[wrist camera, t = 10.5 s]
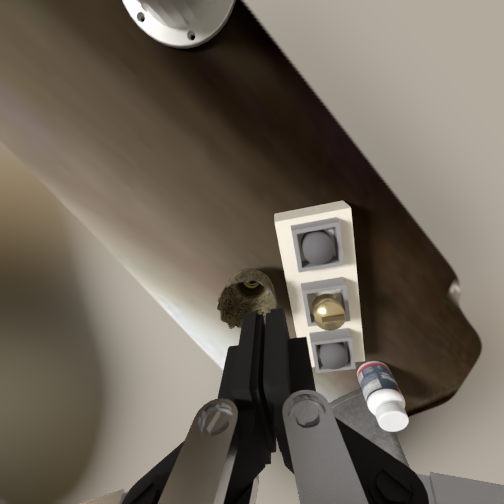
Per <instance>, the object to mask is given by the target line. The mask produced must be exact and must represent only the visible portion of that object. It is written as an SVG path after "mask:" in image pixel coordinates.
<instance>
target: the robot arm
mask: <svg viewBox="0 0 504 504" xmlns="http://www.w3.org/2000/svg"><path fill="white" fill-rule="evenodd" d="M122 1H123V4H124V5H125V7H126V9H127V11H128V12H129V14H130V16H131V17H132V19H133V20H134V21H135V22H136V24H137V25H138V26H139V27H140V28H141V29H142V30H143V31H144V32H145V33H146V34H148V35H149V36H150V37H152V38H153V39H154V40H156V41H157V42H159V43H162V44H164V45H166V46H169V47H173V48H187V49H188V48H192V47H197V46H199V45H202V44H204V43H206V42H208V41H209V40H210V39H212V38H213V37H214V36H215V35H217V34H218V32H219V31H220V30H221V29H222V28H223V26H224V25H225V24H226V22H227V20H228V18H229V17H230V15H231V13H232V10H233V8H234V5H235V2H236V0H122ZM143 18H145V20H144V22H143ZM192 36H195V39H194V40H192V39H191V38H192ZM276 438H277V442H278V445H279V449H280V452H282V456H283V460H284V463H285V466H286V467H287V468H288V469H290V471H291V472H292V473H293V474H294V475H295V479H296V484H297V489H298V494H299V499H300V504H504V485H500V484H494V483H489V482H483V481H478V480H472V479H467V478H461V477H455V476H450V475H444V474H439V473H433V472H430V476H426V475H421V474H416V473H415V472H414V471H412V470H411V469H410V468H409V467H408V466H406V465H405V464H404V463H402V462H401V461H399V460H398V459H396V458H395V457H393V456H392V455H390V454H389V453H387V452H386V451H384V450H383V449H381V448H380V447H379V446H377V445H376V444H374V443H373V442H371V441H370V440H368V439H367V438H365V437H364V436H362V435H361V434H359V433H358V432H356V431H355V430H354V429H352V428H351V427H349V426H348V425H346V424H345V423H343V422H342V421H340V420H339V419H337V418H336V417H334V415H333V412H332V409H331V407H330V404H329V403H328V401H327V399H326V398H325V397H324V396H323V395H321V394H320V393H318V392H316V389H315V383H314V378H313V372H312V366H311V360H310V354H309V349H308V343H307V338H306V337H300V338H292V339H290V337H289V332H288V327H287V322H286V318H285V313H284V308H283V307H282V308H275V309H270V313H266V322H265V321H264V317H263V314H258V312H257V311H254V312H248V313H244V316H243V322H242V328H241V334H240V340H239V345H238V346H230V347H229V348H228V352H227V357H226V361H225V366H224V371H223V376H222V380H221V385H220V390H219V394H218V399H215V400H212V401H210V402H208V403H207V404H205V405H204V406H203V407H202V408H201V409H200V410H199V411H198V413H197V414H196V416H195V418H194V421H193V423H192V425H191V427H190V430H189V432H188V434H187V437H186V439H185V441H184V442H182V443H181V444H180V445H179V446H178V447H177V448H176V449H174V450H173V451H172V452H171V453H170V454H169V455H167V456H166V457H165V458H164V459H163V460H162V461H161V462H159V463H158V464H157V465H156V466H155V467H154V468H153V469H151V470H150V471H149V472H148V473H147V474H146V475H145V476H143V477H142V478H141V479H140V480H139V481H138V482H137V483H136V484H135V485H134V486H133V487H132V488H131V489H130V490H129V492H126V493H125V491H124V490H123V489H122V490H119V491H116V492H113V493H110V494H107V495H104V496H101V497H98V498H95V499H92V500H89V501H86V502H83V503H80V504H255V502H256V497H257V491H258V484H259V476H258V474H259V473H260V472H261V471H262V470H263V468H265V464H271V453H272V452H276Z"/></svg>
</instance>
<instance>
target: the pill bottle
mask: <svg viewBox="0 0 504 504" xmlns="http://www.w3.org/2000/svg"><path fill="white" fill-rule="evenodd" d="M357 377H358V380H359V383H360V386H361V389H362V392H363V395H364V397H365V400H366V403H367V406H368V408H369V410H370V411H371V413H372V414H374V415H375V416H376V419H377V421H378V424H379V426H380V427H381V428H382V429H383V430H385V431H389V432H396V431H399V430H402V429H404V428H405V427H406V426H407V425H408V423H409V419H408V416H407V414H406V411H405V410H404V408H405V400H404V397H403V395H402V393H401V391H400V389H399V387H398V385H397V383H396V381H395V379H394V377H393V375H392V373H391V371H390V369H389V368H388V366H387V365H386V364H384V363H382V362H379V361H369V362H366V363H364V364H363V365H361V366H360V368H359V369H358V371H357Z"/></svg>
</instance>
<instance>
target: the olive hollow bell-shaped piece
mask: <svg viewBox="0 0 504 504" xmlns="http://www.w3.org/2000/svg"><path fill="white" fill-rule="evenodd" d="M250 281H256V283H254V284H251V283H249V282H250ZM218 302H219V304H218V307H217V309H218V310H220V318H221V320H222V321H223V322H226V323H228V327H229V328H230V329H232V328H234V327H235V326H237V327H238V328H240V327H241V328H242V322H243V316H244V313H248V312H254V311H257V312H258V314H263V317H264V321H265V322H266V313H270V309H275V308H278V306H277V305H278V302H277V298H276V294H275V290H274V287H273V284H272V282H271V280H270V279H269V277H268V276H267V275H266V274H264V273H263V272H261V271H259V270H256V269H244V270H241V271H239V272H237V273H236V274H234V275H233V276H232V277H231V278H230V280H229V281H228V283H227V284H226V286H225V288H224V289H223V291H222V293H221V294H220V296H219V299H218Z"/></svg>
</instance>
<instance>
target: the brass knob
mask: <svg viewBox="0 0 504 504" xmlns="http://www.w3.org/2000/svg"><path fill="white" fill-rule="evenodd" d="M312 309H313V314H314V318H315V322H316V324H317V325H318V327H320V328H321V329H323V330H328V331H332V330H336V329H338V328H340V327H341V326H342V325H343V324H344V323H345V320H346V314H345V311H344V309H343V307H342V304H341V302H340V300H339V298H338V297H337V296H335V295H333V294H322V295H319V296H318V297H316V298H315V299H314V301H313V303H312Z"/></svg>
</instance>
